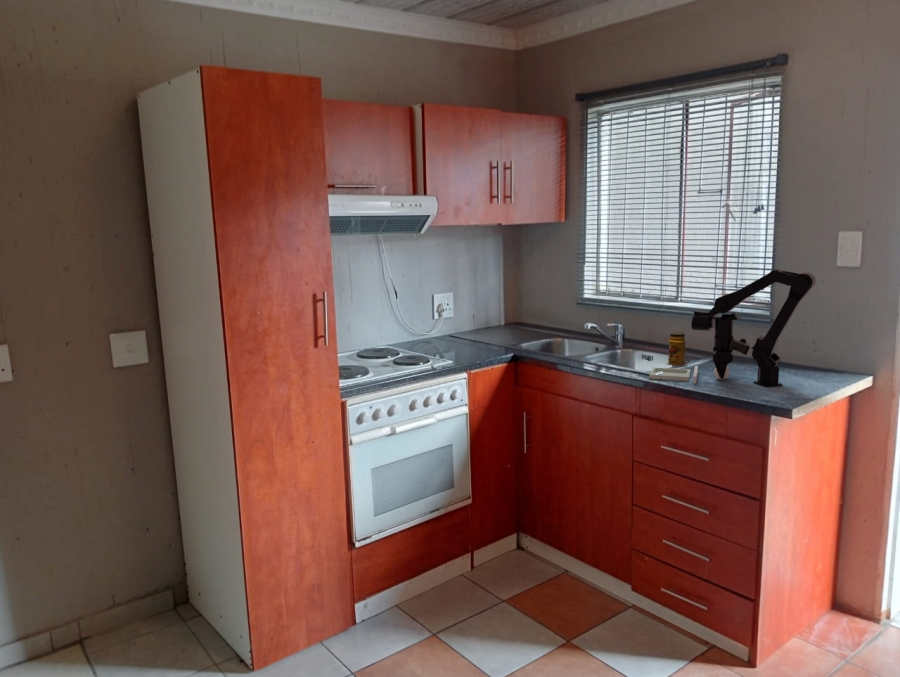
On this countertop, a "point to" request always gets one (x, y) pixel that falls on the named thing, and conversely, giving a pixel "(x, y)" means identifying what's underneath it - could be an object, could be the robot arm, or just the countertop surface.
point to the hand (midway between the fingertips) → (721, 376)
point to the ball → (724, 375)
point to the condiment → (677, 349)
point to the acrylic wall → (695, 374)
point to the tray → (671, 374)
